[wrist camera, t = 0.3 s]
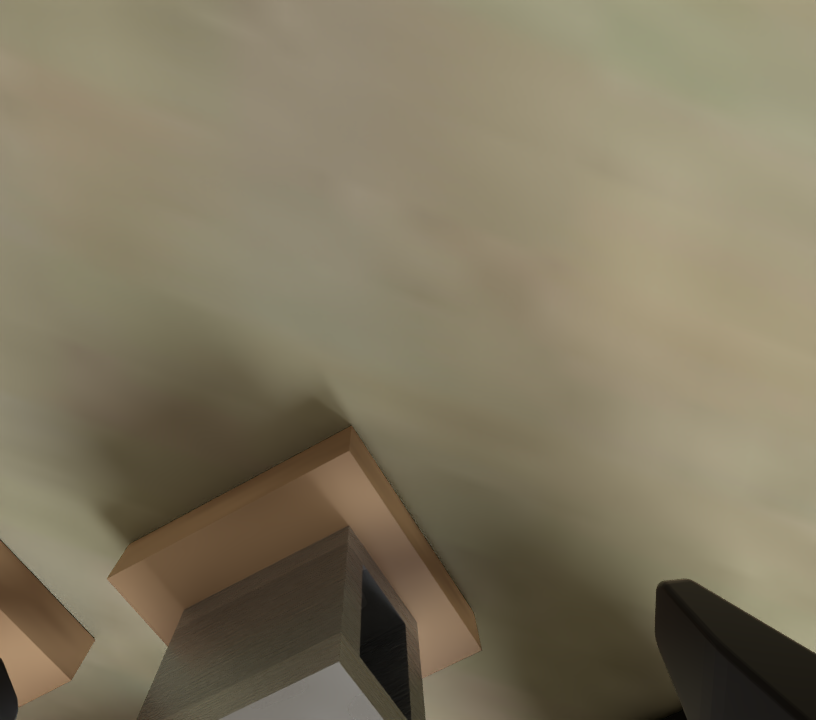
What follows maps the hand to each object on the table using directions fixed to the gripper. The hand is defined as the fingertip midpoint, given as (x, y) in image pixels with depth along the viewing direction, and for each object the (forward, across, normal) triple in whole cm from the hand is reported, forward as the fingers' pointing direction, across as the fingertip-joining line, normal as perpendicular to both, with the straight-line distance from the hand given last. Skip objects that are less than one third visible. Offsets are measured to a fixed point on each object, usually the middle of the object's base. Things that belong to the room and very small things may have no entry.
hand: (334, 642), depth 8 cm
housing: (+12, +3, +9) cm, 15 cm away
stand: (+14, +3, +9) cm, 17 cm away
